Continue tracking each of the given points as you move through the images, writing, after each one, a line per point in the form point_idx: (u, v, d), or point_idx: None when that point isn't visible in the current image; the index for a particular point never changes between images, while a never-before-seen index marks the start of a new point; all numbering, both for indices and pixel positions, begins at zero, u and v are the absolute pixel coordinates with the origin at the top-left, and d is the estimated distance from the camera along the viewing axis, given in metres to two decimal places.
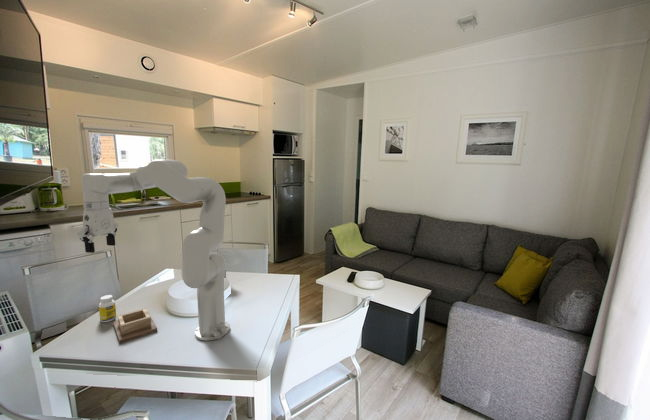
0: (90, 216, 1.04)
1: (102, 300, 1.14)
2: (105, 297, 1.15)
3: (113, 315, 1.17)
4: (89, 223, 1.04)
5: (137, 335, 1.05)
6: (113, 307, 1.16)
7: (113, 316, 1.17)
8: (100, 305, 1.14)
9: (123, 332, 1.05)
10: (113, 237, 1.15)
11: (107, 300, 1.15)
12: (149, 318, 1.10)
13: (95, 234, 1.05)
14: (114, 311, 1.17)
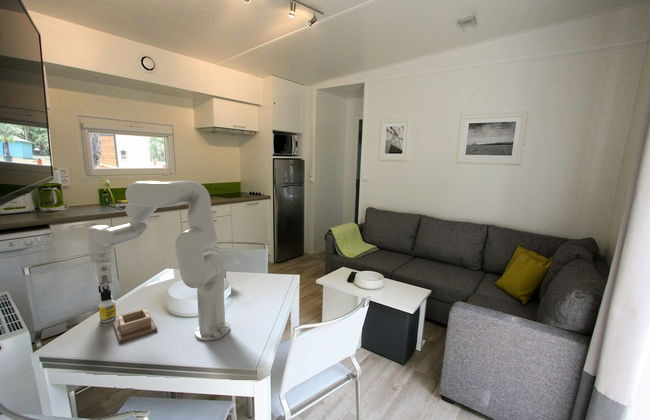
0: (108, 266, 1.11)
1: None
2: None
3: (113, 315, 1.17)
4: (107, 273, 1.11)
5: (137, 335, 1.05)
6: (113, 307, 1.16)
7: (113, 316, 1.17)
8: (100, 305, 1.14)
9: (123, 332, 1.05)
10: (107, 283, 1.20)
11: (107, 300, 1.15)
12: (149, 318, 1.10)
13: (112, 281, 1.13)
14: (114, 311, 1.17)
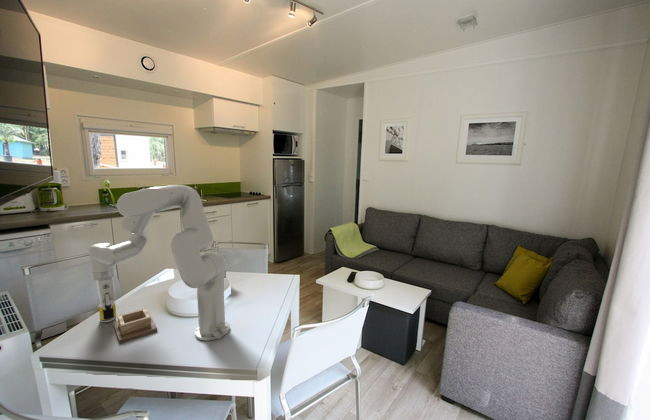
0: (110, 283, 1.12)
1: None
2: None
3: None
4: (109, 290, 1.12)
5: (137, 335, 1.05)
6: (113, 307, 1.16)
7: None
8: (100, 305, 1.14)
9: (123, 332, 1.05)
10: None
11: None
12: (149, 318, 1.10)
13: (115, 299, 1.14)
14: (114, 311, 1.17)
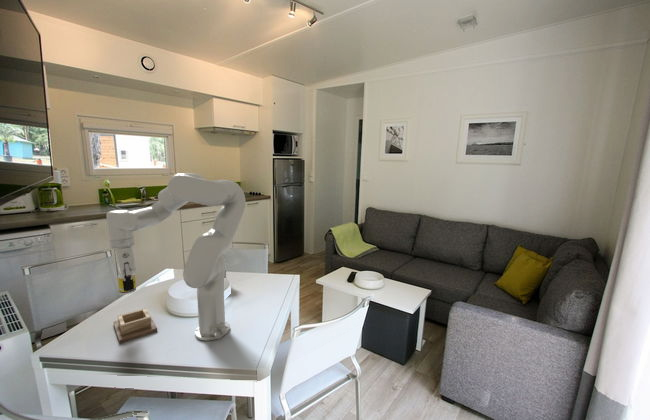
0: (129, 252, 1.05)
1: None
2: None
3: None
4: (129, 259, 1.05)
5: (137, 335, 1.05)
6: (133, 279, 1.09)
7: None
8: (119, 276, 1.07)
9: (123, 332, 1.05)
10: None
11: None
12: (149, 318, 1.10)
13: (135, 269, 1.07)
14: (134, 283, 1.10)
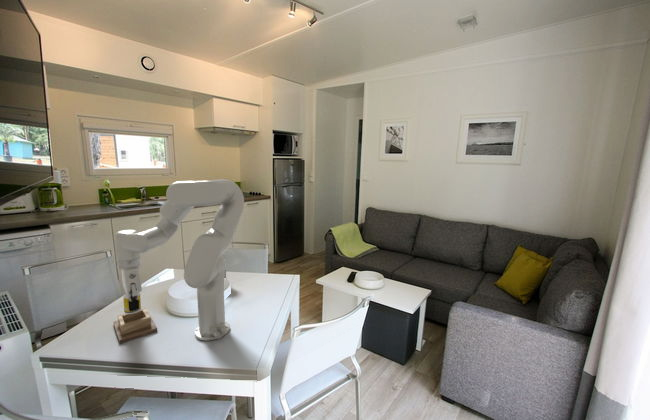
0: (136, 273, 1.05)
1: None
2: None
3: None
4: (136, 280, 1.05)
5: (137, 335, 1.05)
6: (138, 298, 1.09)
7: None
8: (125, 296, 1.07)
9: (123, 332, 1.05)
10: None
11: None
12: (149, 318, 1.10)
13: (141, 289, 1.07)
14: (139, 303, 1.10)
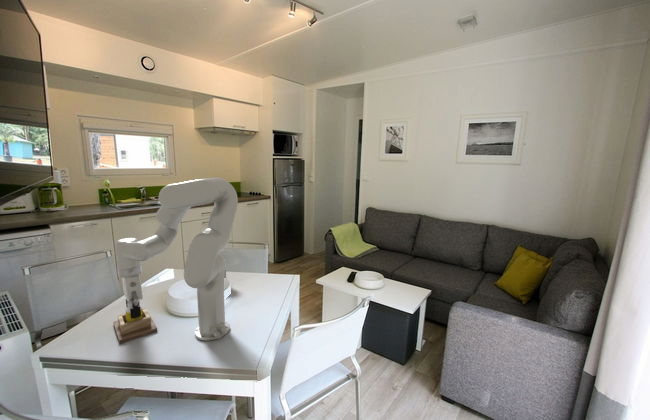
0: (137, 281, 1.06)
1: (129, 305, 1.07)
2: (132, 302, 1.09)
3: None
4: (136, 288, 1.05)
5: (137, 335, 1.05)
6: None
7: None
8: (127, 310, 1.07)
9: (123, 332, 1.05)
10: None
11: None
12: (149, 318, 1.10)
13: (142, 297, 1.07)
14: (141, 316, 1.11)
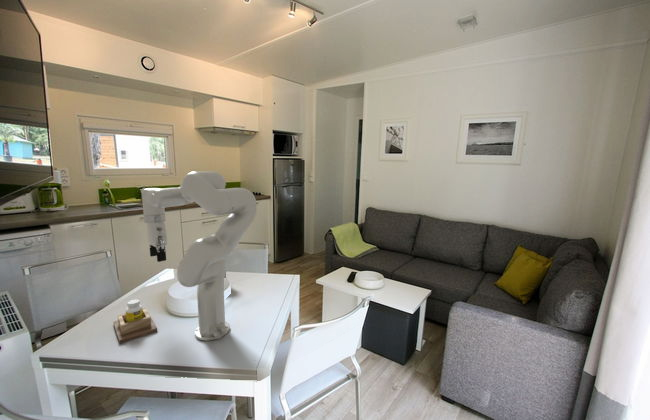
0: (162, 227, 1.14)
1: (129, 305, 1.07)
2: (132, 302, 1.09)
3: None
4: (162, 233, 1.14)
5: (137, 335, 1.05)
6: (140, 312, 1.10)
7: None
8: (127, 310, 1.07)
9: (123, 332, 1.05)
10: None
11: (135, 304, 1.08)
12: (149, 318, 1.10)
13: None
14: (141, 316, 1.11)
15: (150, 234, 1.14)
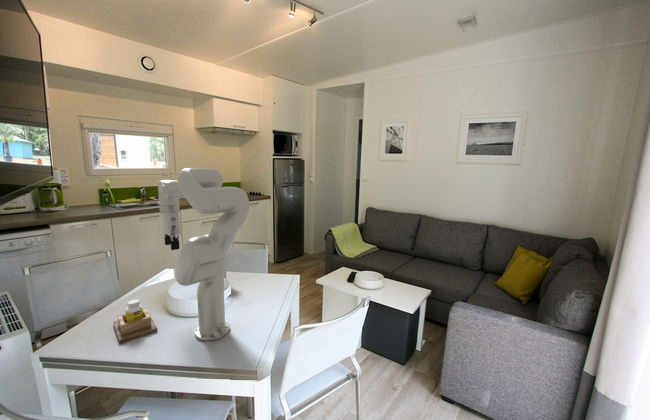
0: (176, 217, 1.20)
1: (129, 305, 1.07)
2: (132, 302, 1.09)
3: None
4: (176, 223, 1.19)
5: (137, 335, 1.05)
6: (140, 312, 1.10)
7: None
8: (127, 310, 1.07)
9: (123, 332, 1.05)
10: None
11: (135, 304, 1.08)
12: (149, 318, 1.10)
13: (180, 232, 1.21)
14: (141, 316, 1.11)
15: (165, 223, 1.20)
